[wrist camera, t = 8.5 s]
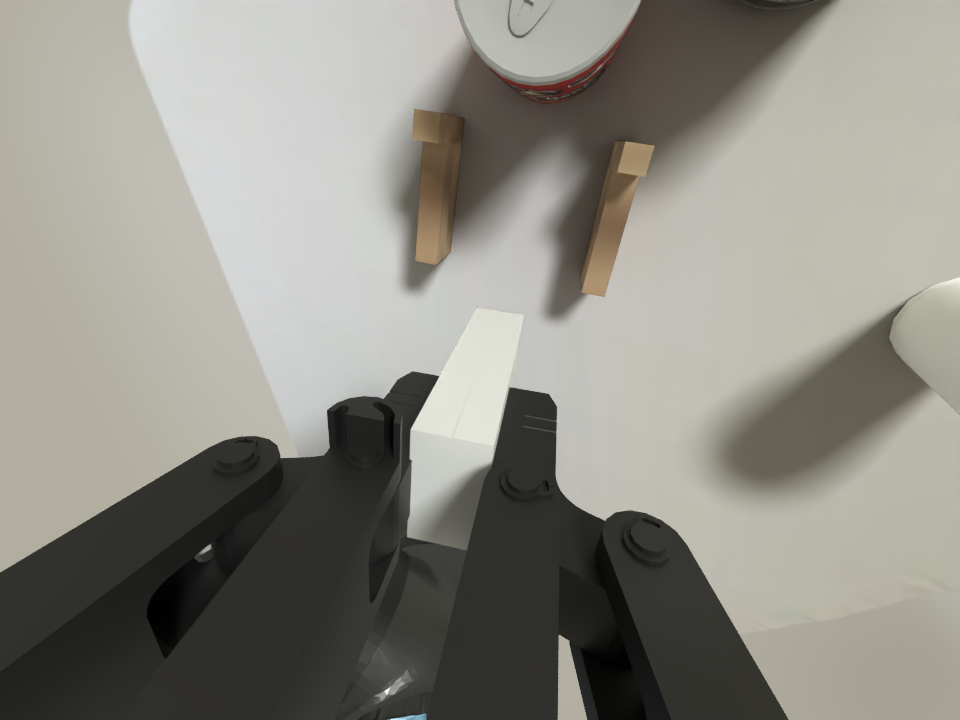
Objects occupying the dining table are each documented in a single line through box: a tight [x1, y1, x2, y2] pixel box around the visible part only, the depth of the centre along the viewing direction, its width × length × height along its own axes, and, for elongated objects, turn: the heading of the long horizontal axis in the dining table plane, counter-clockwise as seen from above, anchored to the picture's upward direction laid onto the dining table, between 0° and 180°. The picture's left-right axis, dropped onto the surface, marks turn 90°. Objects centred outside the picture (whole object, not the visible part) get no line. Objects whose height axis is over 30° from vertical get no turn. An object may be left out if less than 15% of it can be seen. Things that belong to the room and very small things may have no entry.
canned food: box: [454, 0, 642, 103], centre depth 21 cm, size 8×8×11 cm
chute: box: [413, 109, 655, 297], centre depth 27 cm, size 9×13×6 cm
